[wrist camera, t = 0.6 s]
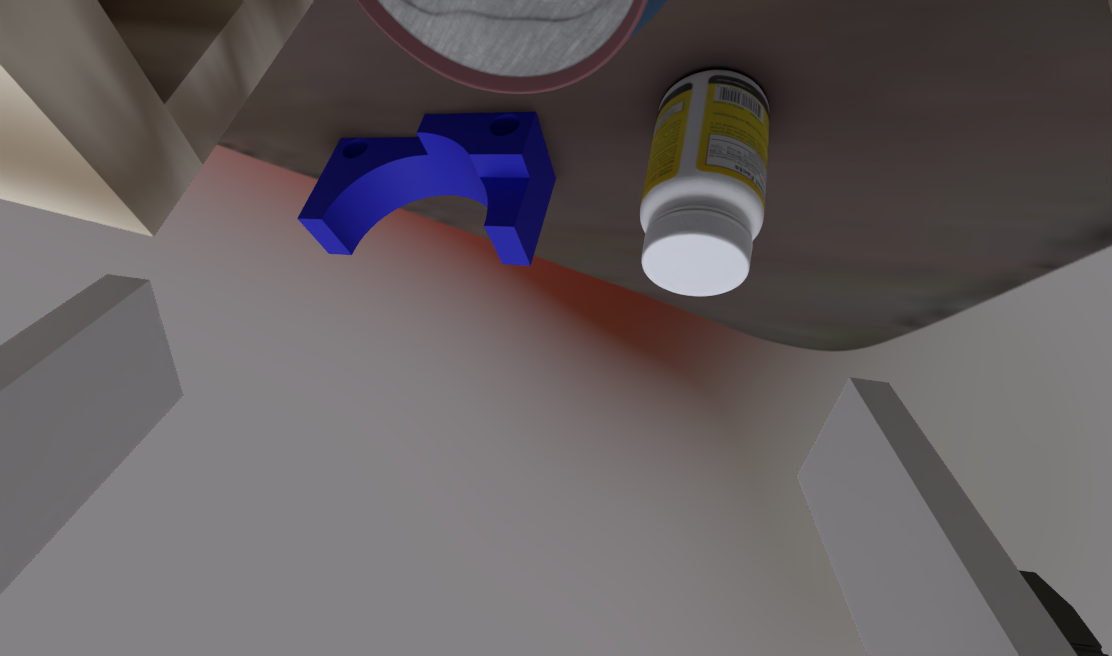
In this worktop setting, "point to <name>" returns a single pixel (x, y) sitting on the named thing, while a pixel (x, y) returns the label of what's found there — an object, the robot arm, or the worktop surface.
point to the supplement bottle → (705, 183)
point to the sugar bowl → (1110, 4)
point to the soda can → (512, 38)
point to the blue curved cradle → (439, 179)
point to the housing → (125, 98)
